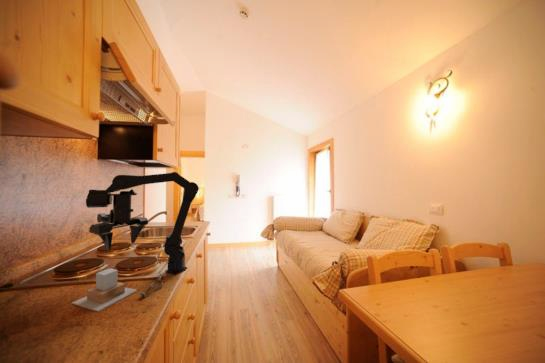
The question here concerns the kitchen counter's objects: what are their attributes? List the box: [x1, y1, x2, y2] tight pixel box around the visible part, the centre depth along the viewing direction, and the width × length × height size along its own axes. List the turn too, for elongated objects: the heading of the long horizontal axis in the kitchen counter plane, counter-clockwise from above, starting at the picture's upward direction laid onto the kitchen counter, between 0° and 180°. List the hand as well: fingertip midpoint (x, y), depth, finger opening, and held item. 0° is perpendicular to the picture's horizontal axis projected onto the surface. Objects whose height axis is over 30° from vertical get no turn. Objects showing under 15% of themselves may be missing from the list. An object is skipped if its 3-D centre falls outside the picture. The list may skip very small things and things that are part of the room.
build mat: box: [71, 286, 138, 313], centre depth 66 cm, size 12×12×1 cm
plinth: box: [86, 281, 126, 304], centre depth 66 cm, size 7×7×3 cm
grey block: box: [95, 267, 119, 291], centre depth 66 cm, size 4×4×5 cm
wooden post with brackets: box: [139, 274, 164, 298], centre depth 70 cm, size 2×8×4 cm, turn 162°
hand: (121, 246), depth 78 cm, fingers open, 9 cm apart
